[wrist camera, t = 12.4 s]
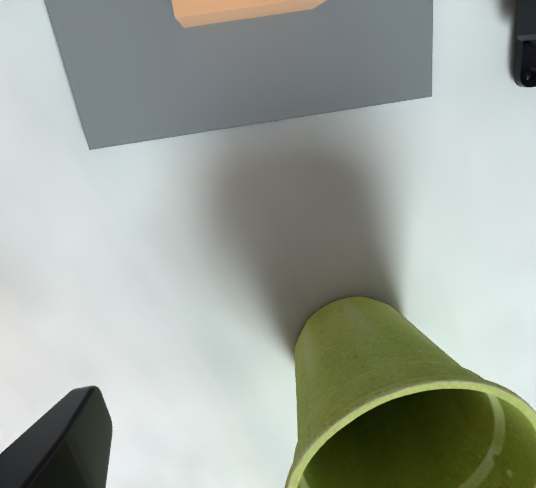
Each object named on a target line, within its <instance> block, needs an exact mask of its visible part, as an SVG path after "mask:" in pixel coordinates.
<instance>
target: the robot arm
mask: <svg viewBox="0 0 536 488" xmlns="http://www.w3.org/2000/svg"><path fill="white" fill-rule="evenodd" d="M516 36H517V45H516V57H515V69H514V81H515V83H516V85H518V86H520V87H536V0H518V12H517V25H516ZM529 69H530V70H531V76H530V78H529V79H528V80H527V79H526V73H527V71H528V70H529ZM111 440H112V421H111V417H110V415H109V412H108V409H107V407H106V404H105V401H104V399H103V396H102V393H101V391H100V389H99V388H98V387H97V386H87V387H82V388H76V389H73V390H72V391H70V392H69V393H68V394H67V395H66V396H65V397H64V398H62V399H61V400H60V401H59V402H58V403H57V404H56V405H55V406H53V407H52V408H51V409H50V410H49V411H48V412H47V413H46V414H44V415H43V416H42V417H41V418H40V419H39V420H38V421H37V422H36V423H34V424H33V425H32V426H31V427H30V428H29V429H28V430H27V431H25V432H24V433H23V434H22V435H21V436H20V437H19V438H18V439H16V440H15V441H14V442H13V443H12V444H11V445H10V446H9V447H8V448H6V449H5V450H4V451H3V452H2V453H1V454H0V488H106V480H107V472H108V464H109V456H110V448H111Z"/></svg>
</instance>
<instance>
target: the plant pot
mask: <svg viewBox="0 0 536 488" xmlns="http://www.w3.org/2000/svg"><path fill="white" fill-rule="evenodd" d="M295 377H296V396H297V423H298V442H297V445H296V449H295V454H294V460H293V464H292V466H291V468H290V471H289V474H288V477H287V480H286V485H285V488H536V412H535V411H534V409H533V408H532V407H531V406H530V405H529V404H528V403H527V402H526V401H524V400H523V399H522V398H521V397H519V396H518V395H517V394H515V393H514V392H512V391H511V390H509V389H507V388H505V387H503V386H501V385H499V384H496V383H493V382H491V381H488V380H484V379H483V378H481V377H480V376H479V375H477V374H475V373H473V372H472V371H470V370H468V369H465V368H463V367H461V366H460V365H459V364H458V363H457V362H455V361H454V360H453V359H452V358H451V357H449V356H448V355H447V354H446V353H445V352H444V351H442V350H441V349H440V348H439V347H438V346H437V345H435V344H434V343H433V342H432V341H431V340H430V339H429V338H427V337H426V336H425V335H424V334H423V333H422V332H421V331H419V330H418V329H417V328H416V327H415V326H414V325H413V324H412V323H410V322H409V321H408V320H407V319H406V318H405V317H404V316H403V315H401V314H400V313H399V312H398V311H397V310H396V309H395V308H393V307H392V306H391V305H389V304H386V303H384V302H380V301H377V300H374V299H370V298H367V297H360V296H358V297H348V298H343V299H339V300H336V301H334V302H331V303H329V304H327V305H325V306H324V307H322V308H321V309H319V310H318V311H316V312H315V313H314V314H313V315H312V316H311V317H310V318H309V319H308V320H307V322H306V323H305V325H304V327H303V329H302V331H301V333H300V335H299V338H298V340H297V343H296V345H295Z"/></svg>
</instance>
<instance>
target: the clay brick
mask: <svg viewBox="0 0 536 488" xmlns="http://www.w3.org/2000/svg"><path fill="white" fill-rule="evenodd" d="M325 1H326V0H172V5H173V10H174V15H175V18H176V20H177V21H178V22H179V23H180V24H181V25H182V26H183V27H184V28H187V27H194V26H201V25H208V24H215V23H221V22H228V21H235V20H242V19H249V18H256V17H263V16H269V15H276V14H283V13H290V12H297V11H304V10H310V9H314V8H315V7H317V6H318V5H320V4H321V3H323V2H325Z"/></svg>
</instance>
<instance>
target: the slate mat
mask: <svg viewBox="0 0 536 488" xmlns="http://www.w3.org/2000/svg"><path fill="white" fill-rule="evenodd" d="M44 1H45V4H46V7H47V11H48V14H49V17H50V21H51V24H52V27H53V31H54V34H55V37H56V41H57V44H58V47H59V51H60V54H61V57H62V61H63V64H64V67H65V71H66V74H67V77H68V80H69V84H70V87H71V90H72V94H73V97H74V100H75V104H76V107H77V110H78V114H79V117H80V120H81V124H82V127H83V130H84V134H85V137H86V140H87V144H88V147H89V150H91V149H98V148H104V147H111V146H117V145H123V144H130V143H136V142H143V141H149V140H156V139H162V138H168V137H175V136H181V135H188V134H194V133H200V132H207V131H213V130H220V129H226V128H233V127H239V126H245V125H252V124H258V123H265V122H271V121H277V120H284V119H290V118H297V117H303V116H309V115H316V114H322V113H329V112H335V111H342V110H348V109H354V108H361V107H367V106H374V105H380V104H386V103H393V102H399V101H406V100H412V99H419V98H425V97H431V96H432V37H433V0H326V1H325V2H323V3H321V4H320V5H318V6H317V7H315V8H314V9H310V10H304V11H297V12H290V13H283V14H276V15H269V16H263V17H256V18H249V19H242V20H235V21H228V22H221V23H215V24H208V25H201V26H194V27H187V28H184V27H183V26H182V25H181V24H180V23H179V22H178V21H177V20H176V18H175V15H174V10H173V5H172V0H44Z"/></svg>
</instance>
